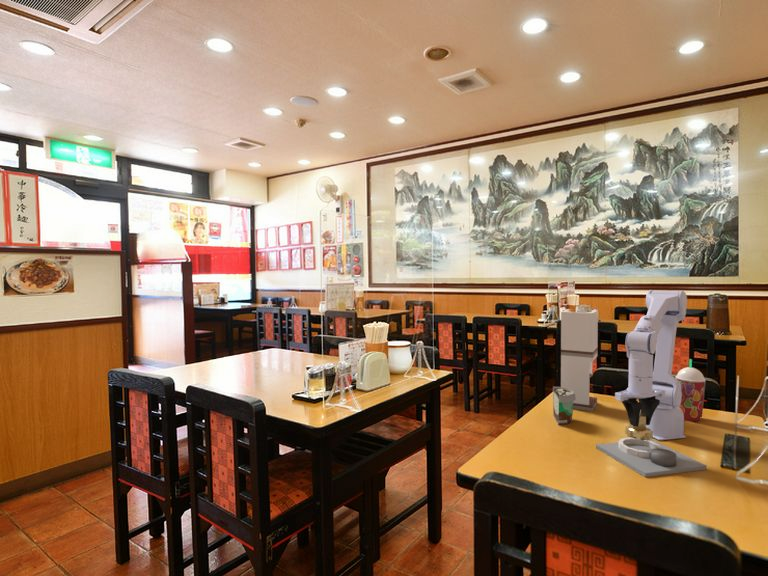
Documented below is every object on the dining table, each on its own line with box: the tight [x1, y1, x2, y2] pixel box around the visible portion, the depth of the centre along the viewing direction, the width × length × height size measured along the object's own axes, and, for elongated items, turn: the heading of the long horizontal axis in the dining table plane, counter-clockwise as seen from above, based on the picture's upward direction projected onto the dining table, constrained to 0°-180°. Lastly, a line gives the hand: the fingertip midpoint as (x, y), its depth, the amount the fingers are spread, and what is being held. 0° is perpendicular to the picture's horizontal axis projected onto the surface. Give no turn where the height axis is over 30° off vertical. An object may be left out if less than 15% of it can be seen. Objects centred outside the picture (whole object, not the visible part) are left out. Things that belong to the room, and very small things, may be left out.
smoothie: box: [675, 358, 707, 422], centre depth 149 cm, size 8×8×20 cm
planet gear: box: [624, 412, 654, 441], centre depth 123 cm, size 6×6×6 cm
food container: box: [552, 386, 576, 426], centre depth 149 cm, size 12×6×10 cm, turn 168°
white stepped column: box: [560, 308, 599, 412], centre depth 165 cm, size 11×11×35 cm
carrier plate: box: [595, 437, 708, 478], centre depth 120 cm, size 18×18×4 cm
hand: (639, 424), depth 122 cm, fingers closed on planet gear, 3 cm apart
